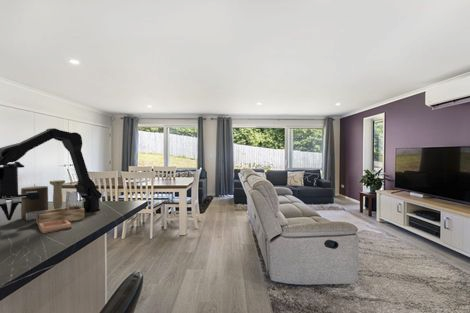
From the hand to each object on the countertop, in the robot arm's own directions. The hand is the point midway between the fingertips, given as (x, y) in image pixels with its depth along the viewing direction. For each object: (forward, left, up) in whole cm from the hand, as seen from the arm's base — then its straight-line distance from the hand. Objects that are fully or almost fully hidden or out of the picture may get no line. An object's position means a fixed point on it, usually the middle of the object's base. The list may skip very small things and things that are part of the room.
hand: (9, 220), depth 97 cm
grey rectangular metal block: (-8, 0, -1) cm, 8 cm away
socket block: (-17, 0, -4) cm, 17 cm away
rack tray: (-13, +11, -4) cm, 17 cm away
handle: (-20, -23, -4) cm, 31 cm away
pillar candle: (-10, -15, -4) cm, 18 cm away
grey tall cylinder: (-21, 0, -1) cm, 21 cm away
